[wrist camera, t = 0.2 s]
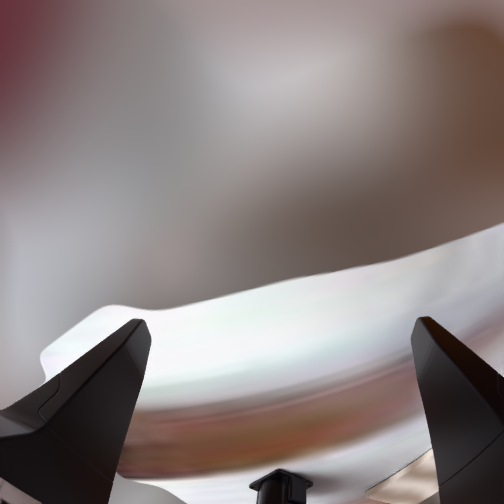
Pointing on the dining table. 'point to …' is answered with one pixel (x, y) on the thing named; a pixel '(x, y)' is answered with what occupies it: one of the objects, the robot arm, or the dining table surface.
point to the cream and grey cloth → (410, 484)
